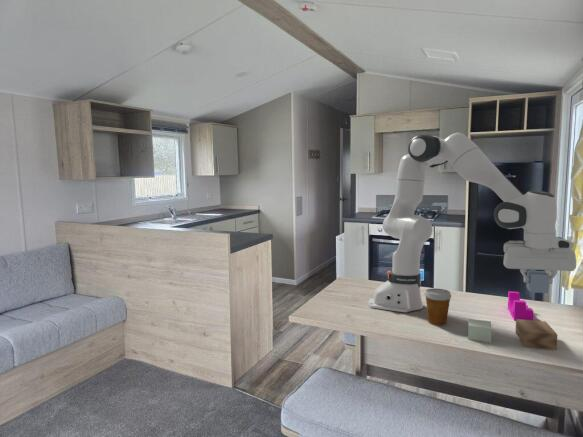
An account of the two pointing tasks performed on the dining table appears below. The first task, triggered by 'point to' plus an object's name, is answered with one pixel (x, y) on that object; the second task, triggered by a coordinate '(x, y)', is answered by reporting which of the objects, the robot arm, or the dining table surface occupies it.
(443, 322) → the disposable coffee cup
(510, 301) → the toy block
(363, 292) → the dining table surface
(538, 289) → the slate block
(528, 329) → the walnut pedestal
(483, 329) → the sage block
